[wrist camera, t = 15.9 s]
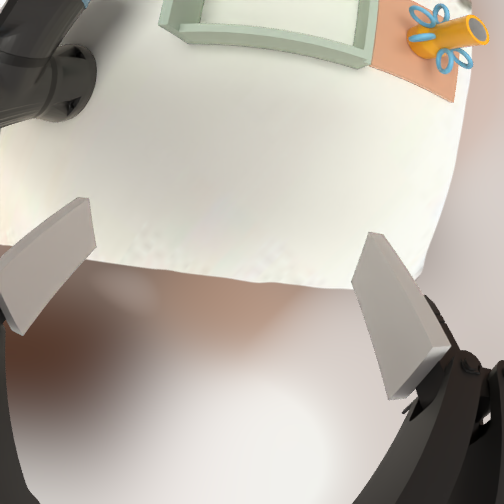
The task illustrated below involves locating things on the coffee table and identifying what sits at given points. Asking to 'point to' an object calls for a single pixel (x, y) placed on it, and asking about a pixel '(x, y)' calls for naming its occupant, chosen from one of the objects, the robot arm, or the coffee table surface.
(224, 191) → the coffee table surface
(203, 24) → the box
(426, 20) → the terracotta tile
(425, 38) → the orange tube
